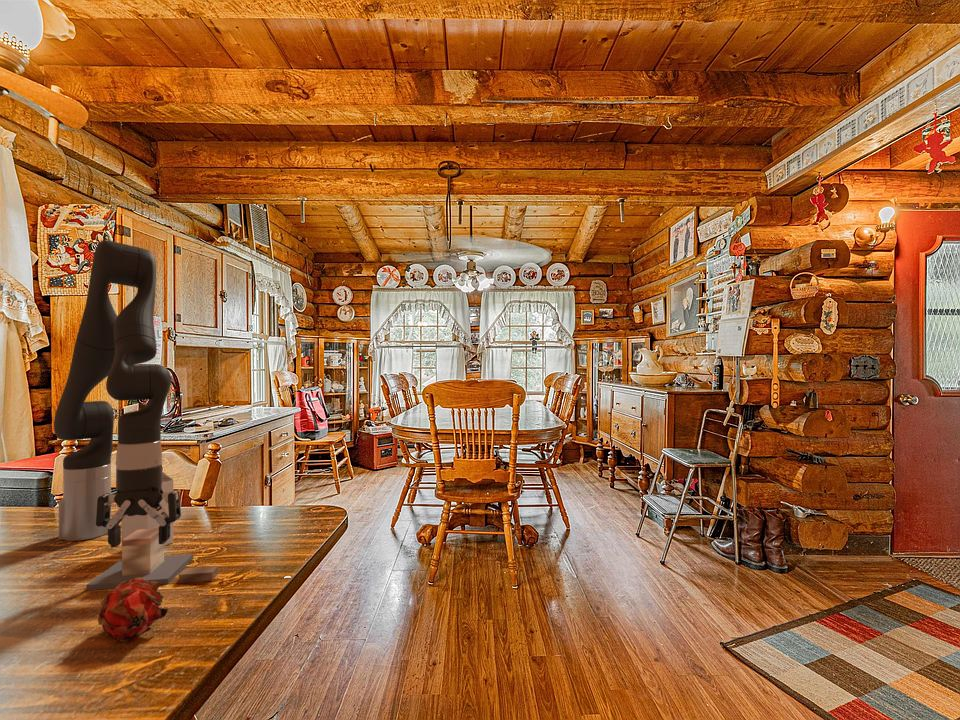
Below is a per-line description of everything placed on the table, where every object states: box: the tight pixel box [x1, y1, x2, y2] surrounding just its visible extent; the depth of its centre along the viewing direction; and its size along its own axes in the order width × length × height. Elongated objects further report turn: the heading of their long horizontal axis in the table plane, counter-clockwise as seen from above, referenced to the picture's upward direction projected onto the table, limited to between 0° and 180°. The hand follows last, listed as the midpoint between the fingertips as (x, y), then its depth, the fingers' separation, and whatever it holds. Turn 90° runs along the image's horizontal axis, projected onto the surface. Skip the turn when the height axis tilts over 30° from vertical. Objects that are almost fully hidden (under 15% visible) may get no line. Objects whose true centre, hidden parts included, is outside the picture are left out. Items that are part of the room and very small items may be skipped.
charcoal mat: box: [85, 553, 194, 591], centre depth 97 cm, size 14×12×1 cm
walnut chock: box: [178, 565, 219, 584], centre depth 94 cm, size 6×3×2 cm, turn 101°
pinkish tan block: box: [121, 528, 165, 576], centre depth 97 cm, size 5×8×9 cm, turn 11°
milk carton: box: [120, 471, 174, 551], centre depth 110 cm, size 7×7×19 cm
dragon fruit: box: [97, 577, 169, 643], centre depth 76 cm, size 8×8×12 cm
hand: (139, 544), depth 95 cm, fingers open, 8 cm apart
